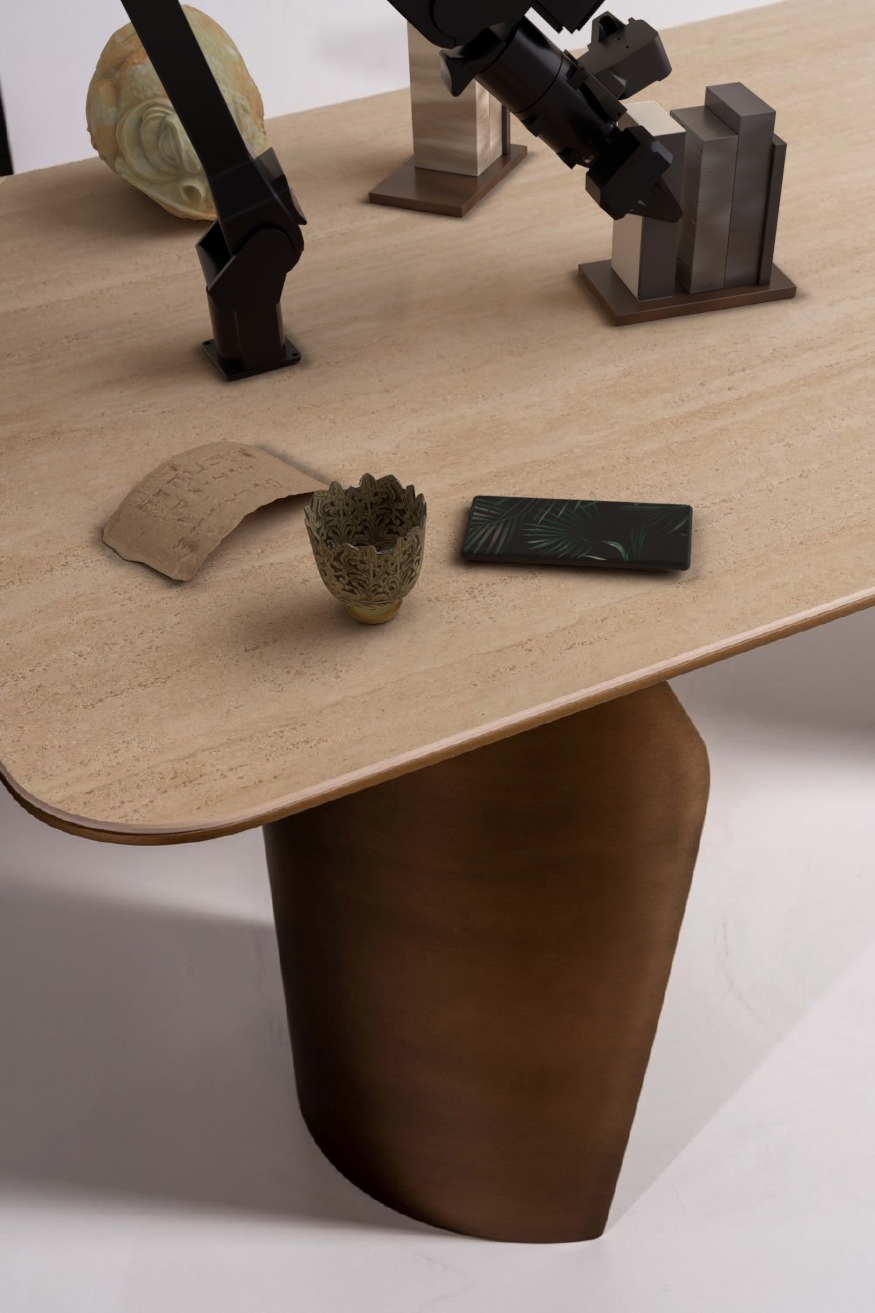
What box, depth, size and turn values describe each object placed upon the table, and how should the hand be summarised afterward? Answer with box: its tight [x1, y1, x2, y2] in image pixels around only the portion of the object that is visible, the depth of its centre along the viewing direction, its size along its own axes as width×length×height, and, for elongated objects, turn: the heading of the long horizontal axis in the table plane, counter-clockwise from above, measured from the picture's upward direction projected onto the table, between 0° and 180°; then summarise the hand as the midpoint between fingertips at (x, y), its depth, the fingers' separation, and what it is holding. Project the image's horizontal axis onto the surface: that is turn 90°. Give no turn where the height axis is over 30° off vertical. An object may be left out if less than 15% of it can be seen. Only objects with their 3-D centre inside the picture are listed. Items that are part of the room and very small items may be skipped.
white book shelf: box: [368, 20, 528, 218], centre depth 137 cm, size 16×10×15 cm, turn 154°
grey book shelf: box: [577, 81, 798, 327], centre depth 117 cm, size 16×10×16 cm, turn 105°
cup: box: [303, 472, 428, 625], centre depth 88 cm, size 8×7×8 cm
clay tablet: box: [102, 440, 330, 581], centre depth 98 cm, size 14×10×3 cm
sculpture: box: [85, 3, 270, 222], centre depth 136 cm, size 18×20×20 cm
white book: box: [610, 99, 686, 302], centre depth 116 cm, size 3×7×14 cm, turn 14°
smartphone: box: [459, 494, 694, 573], centre depth 95 cm, size 7×1×15 cm
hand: (662, 199), depth 116 cm, fingers closed on white book, 7 cm apart
